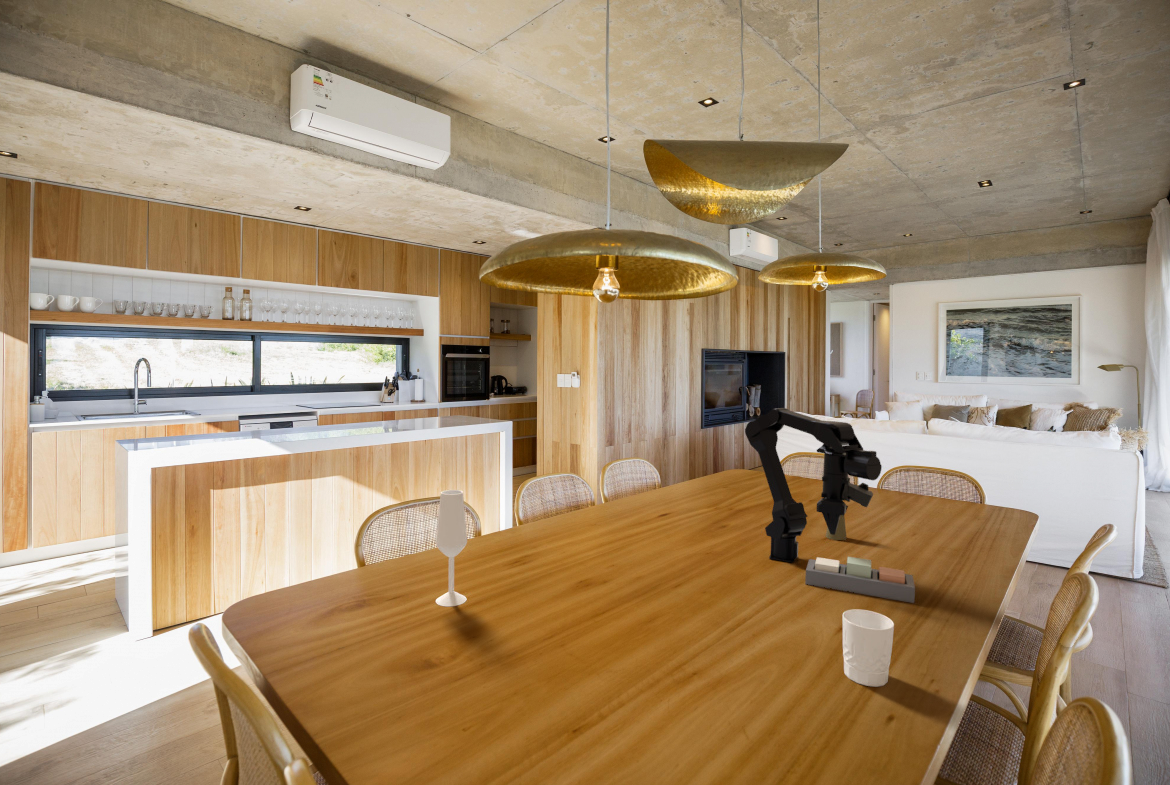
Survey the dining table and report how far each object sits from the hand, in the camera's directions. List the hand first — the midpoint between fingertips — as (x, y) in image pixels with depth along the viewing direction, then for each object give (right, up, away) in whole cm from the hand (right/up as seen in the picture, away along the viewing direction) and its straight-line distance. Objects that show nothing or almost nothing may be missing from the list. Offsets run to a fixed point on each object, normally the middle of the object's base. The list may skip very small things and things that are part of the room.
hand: (832, 534), depth 145 cm
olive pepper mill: (+15, -10, +33) cm, 38 cm away
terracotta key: (+10, -11, -9) cm, 17 cm away
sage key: (+3, -9, -6) cm, 11 cm away
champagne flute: (-92, -10, -18) cm, 94 cm away
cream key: (-3, -10, -3) cm, 11 cm away
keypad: (+3, -11, -6) cm, 13 cm away
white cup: (-14, -13, -47) cm, 50 cm away
